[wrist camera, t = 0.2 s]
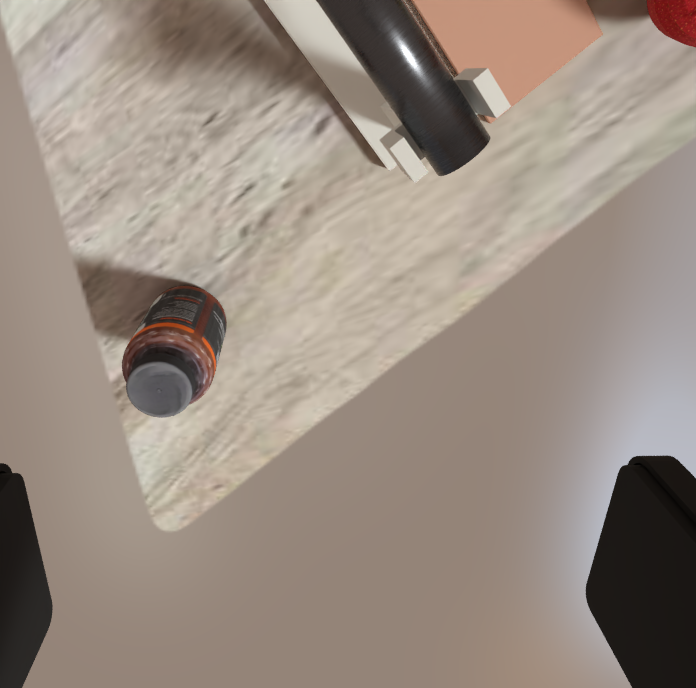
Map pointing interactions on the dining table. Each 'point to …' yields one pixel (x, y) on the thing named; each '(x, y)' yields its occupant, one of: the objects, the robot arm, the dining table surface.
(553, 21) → the mat
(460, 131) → the cylinder
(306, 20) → the stand
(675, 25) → the strawberry
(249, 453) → the dining table surface
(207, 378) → the supplement bottle
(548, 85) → the dining table surface
